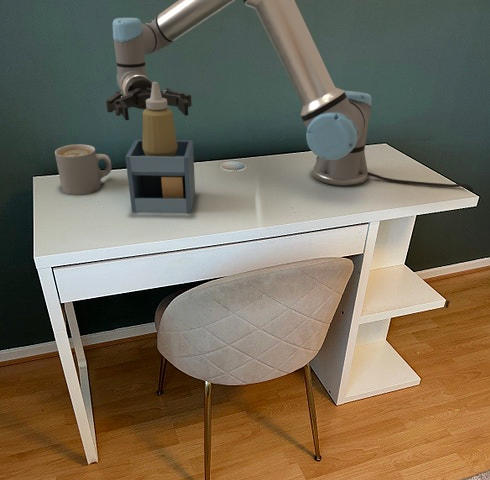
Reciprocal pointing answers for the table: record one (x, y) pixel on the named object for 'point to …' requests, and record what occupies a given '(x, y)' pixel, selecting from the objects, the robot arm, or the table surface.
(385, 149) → the table surface
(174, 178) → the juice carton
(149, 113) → the squeeze bottle
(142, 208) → the grey storage cubby
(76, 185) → the coffee mug
